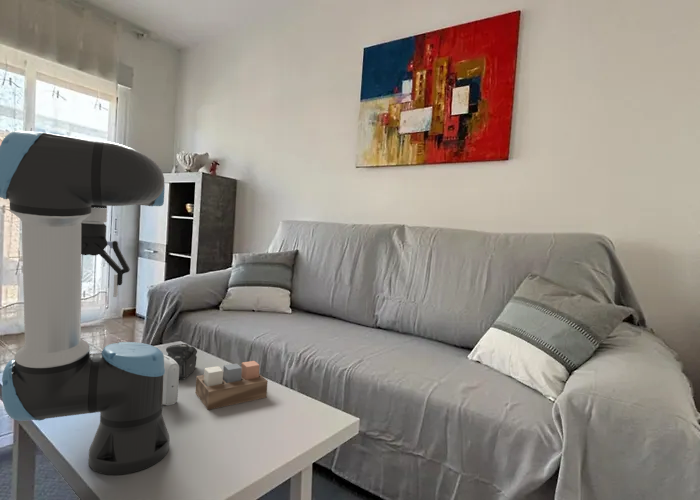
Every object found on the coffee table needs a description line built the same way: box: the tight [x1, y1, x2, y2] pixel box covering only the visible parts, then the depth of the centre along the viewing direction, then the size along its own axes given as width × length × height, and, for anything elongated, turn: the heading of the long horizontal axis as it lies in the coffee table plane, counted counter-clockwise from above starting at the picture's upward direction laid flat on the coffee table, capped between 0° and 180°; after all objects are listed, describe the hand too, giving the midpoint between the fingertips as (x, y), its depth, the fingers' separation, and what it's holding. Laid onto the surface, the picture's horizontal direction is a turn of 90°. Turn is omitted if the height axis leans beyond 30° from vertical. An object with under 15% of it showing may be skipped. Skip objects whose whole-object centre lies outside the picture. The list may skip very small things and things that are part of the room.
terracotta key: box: [240, 360, 260, 380], centre depth 120 cm, size 4×4×5 cm
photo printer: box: [162, 354, 180, 406], centre depth 111 cm, size 10×4×12 cm, turn 56°
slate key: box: [222, 362, 242, 383], centre depth 116 cm, size 4×4×5 cm
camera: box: [165, 343, 198, 380], centre depth 130 cm, size 13×10×10 cm
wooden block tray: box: [195, 373, 268, 411], centre depth 117 cm, size 12×17×5 cm
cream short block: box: [203, 365, 223, 387], centre depth 113 cm, size 4×4×5 cm
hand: (88, 296), depth 115 cm, fingers open, 13 cm apart
